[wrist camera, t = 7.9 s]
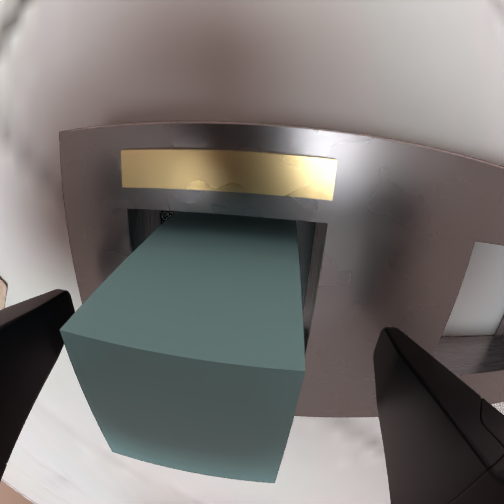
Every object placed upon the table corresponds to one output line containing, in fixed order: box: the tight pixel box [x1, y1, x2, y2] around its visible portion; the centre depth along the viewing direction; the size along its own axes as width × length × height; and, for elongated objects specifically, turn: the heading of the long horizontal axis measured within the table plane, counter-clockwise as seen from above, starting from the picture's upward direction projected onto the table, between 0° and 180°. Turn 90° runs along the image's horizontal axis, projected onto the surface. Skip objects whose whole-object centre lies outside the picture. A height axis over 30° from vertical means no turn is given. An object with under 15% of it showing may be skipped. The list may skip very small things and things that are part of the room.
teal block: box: [60, 211, 305, 483], centre depth 8 cm, size 4×4×7 cm
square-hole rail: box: [59, 121, 504, 417], centre depth 10 cm, size 20×10×3 cm, turn 87°
